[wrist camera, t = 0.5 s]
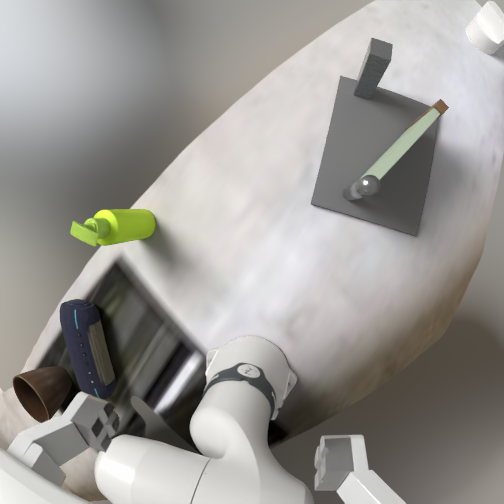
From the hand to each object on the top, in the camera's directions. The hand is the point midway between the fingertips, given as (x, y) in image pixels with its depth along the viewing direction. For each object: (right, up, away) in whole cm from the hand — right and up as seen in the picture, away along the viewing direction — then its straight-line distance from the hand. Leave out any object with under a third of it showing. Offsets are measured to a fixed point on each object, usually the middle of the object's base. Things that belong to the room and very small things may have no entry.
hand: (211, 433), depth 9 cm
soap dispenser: (-20, +12, +48) cm, 53 cm away
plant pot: (-54, -30, +59) cm, 86 cm away
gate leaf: (+25, +23, +36) cm, 49 cm away
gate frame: (+24, +24, +38) cm, 51 cm away
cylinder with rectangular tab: (+55, +57, +28) cm, 84 cm away
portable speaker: (-36, -16, +54) cm, 67 cm away
